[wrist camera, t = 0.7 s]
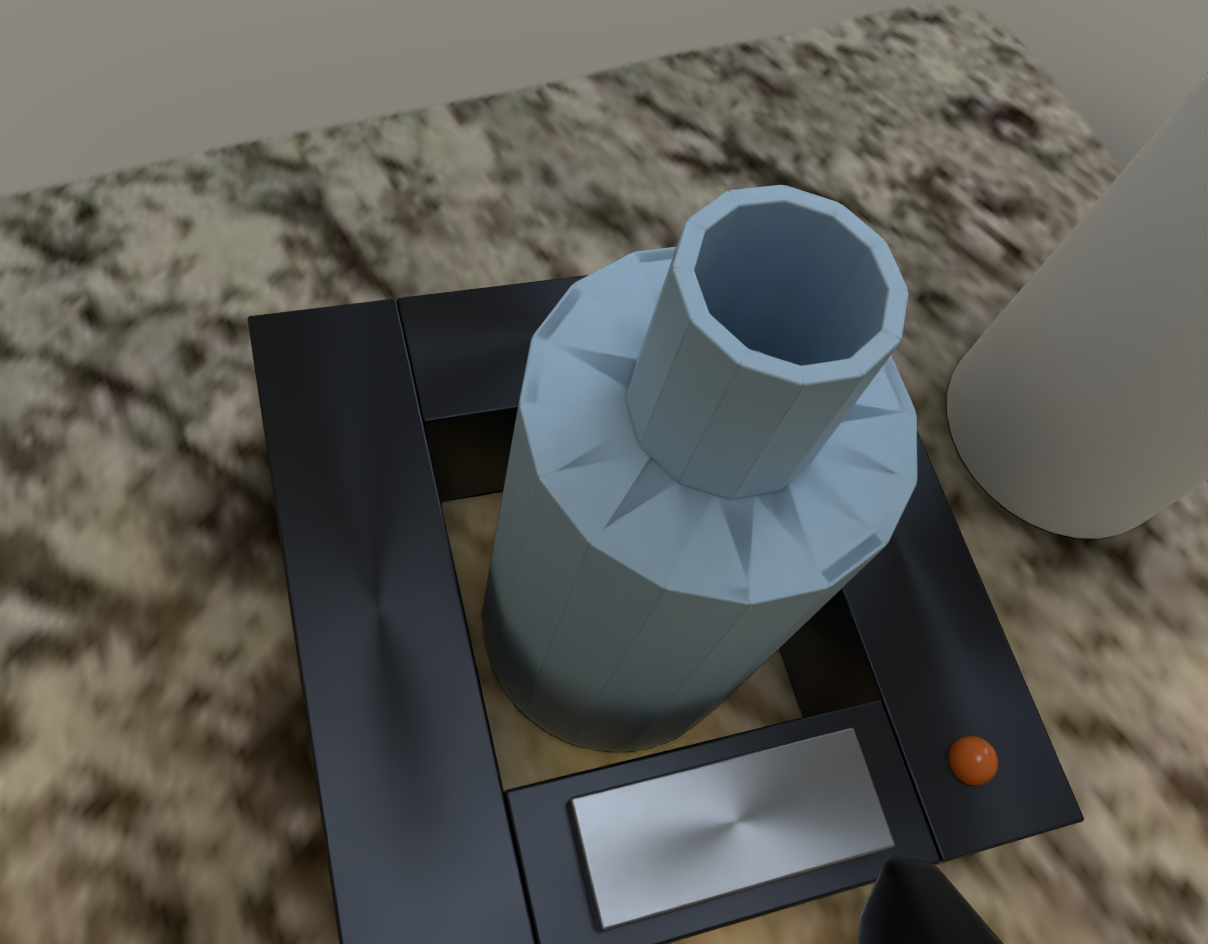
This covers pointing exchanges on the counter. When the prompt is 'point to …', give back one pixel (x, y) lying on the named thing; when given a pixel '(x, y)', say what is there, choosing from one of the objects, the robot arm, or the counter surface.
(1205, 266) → the cylindrical container
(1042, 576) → the counter surface
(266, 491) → the counter surface
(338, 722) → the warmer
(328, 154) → the counter surface
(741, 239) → the vase
